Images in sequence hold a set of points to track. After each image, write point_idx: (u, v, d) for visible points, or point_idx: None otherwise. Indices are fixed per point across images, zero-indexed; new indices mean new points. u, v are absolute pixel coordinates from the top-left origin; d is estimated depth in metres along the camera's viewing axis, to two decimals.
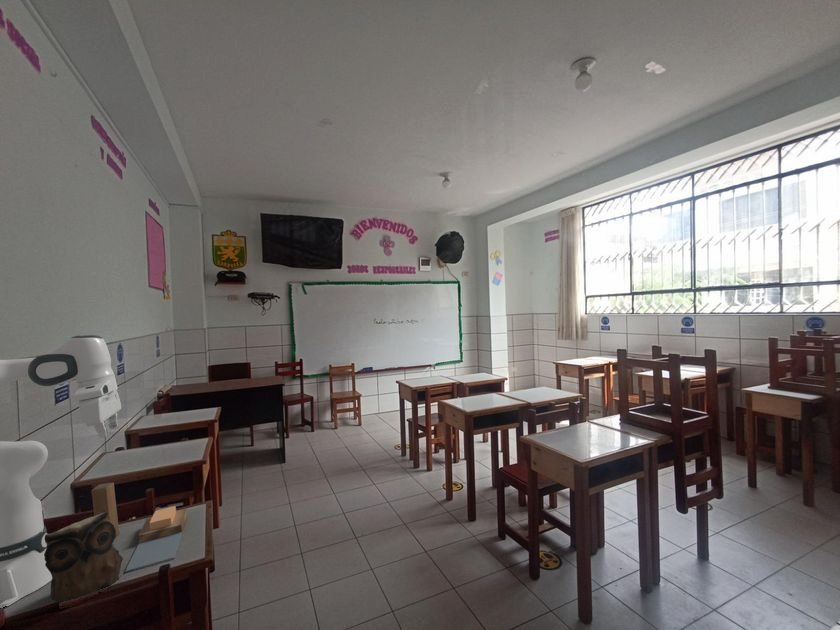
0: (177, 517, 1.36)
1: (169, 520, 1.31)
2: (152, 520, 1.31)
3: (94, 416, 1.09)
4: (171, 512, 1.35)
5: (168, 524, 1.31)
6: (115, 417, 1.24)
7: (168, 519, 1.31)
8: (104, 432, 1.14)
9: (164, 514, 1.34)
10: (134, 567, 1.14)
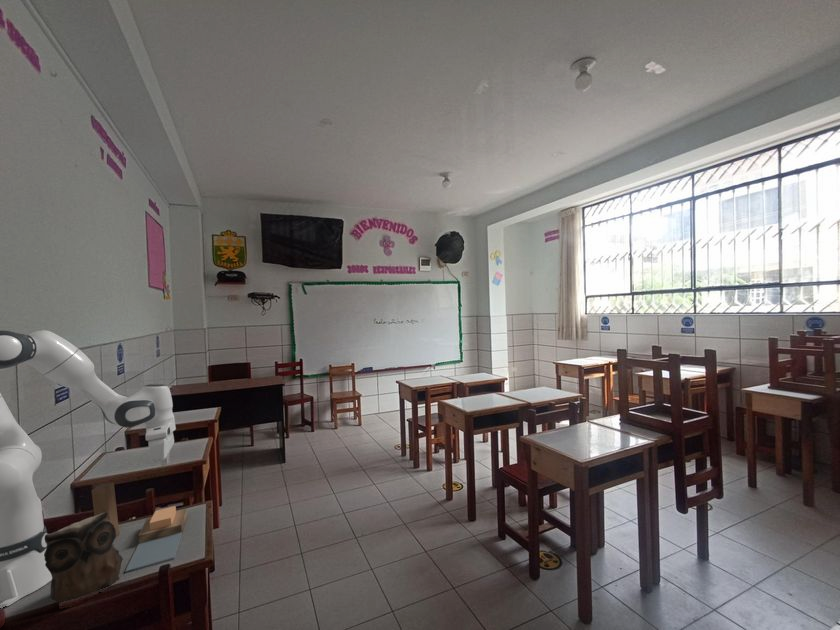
0: (177, 517, 1.36)
1: (169, 520, 1.31)
2: (152, 520, 1.31)
3: (159, 454, 1.34)
4: (171, 512, 1.35)
5: (168, 524, 1.31)
6: (167, 454, 1.45)
7: (168, 519, 1.31)
8: (166, 462, 1.43)
9: (164, 514, 1.34)
10: (134, 567, 1.14)
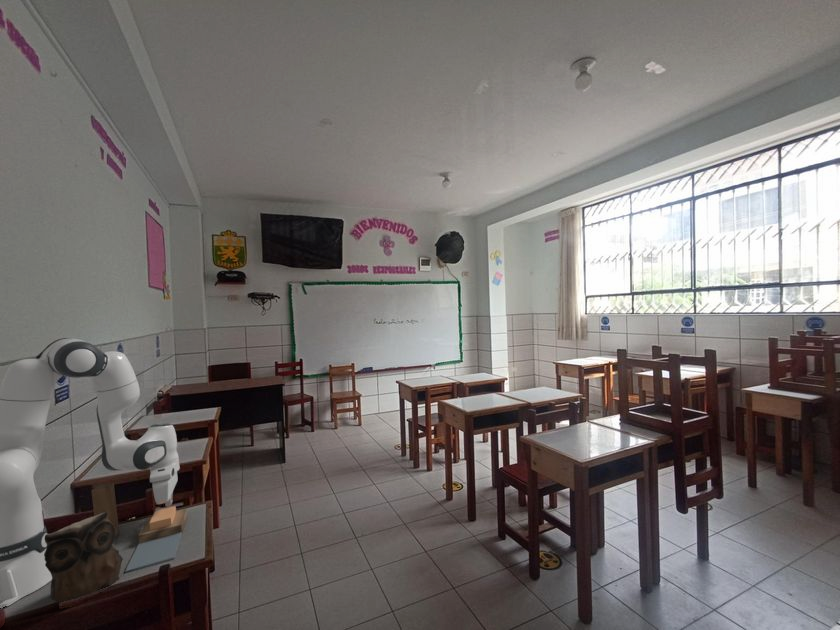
0: (177, 517, 1.36)
1: (169, 520, 1.31)
2: (152, 520, 1.31)
3: (163, 496, 1.35)
4: (171, 512, 1.35)
5: (168, 524, 1.31)
6: (171, 494, 1.45)
7: (168, 519, 1.31)
8: (170, 502, 1.43)
9: (164, 514, 1.34)
10: (134, 567, 1.14)
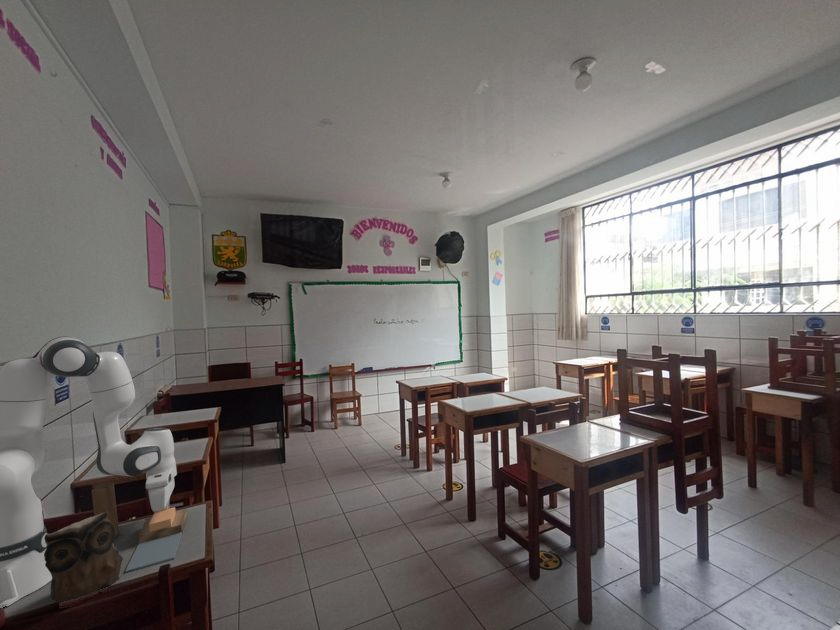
0: (177, 517, 1.36)
1: (169, 521, 1.30)
2: (152, 521, 1.30)
3: (160, 503, 1.30)
4: (171, 513, 1.34)
5: (168, 525, 1.30)
6: (168, 500, 1.40)
7: (168, 520, 1.30)
8: None
9: (163, 516, 1.33)
10: (134, 567, 1.14)
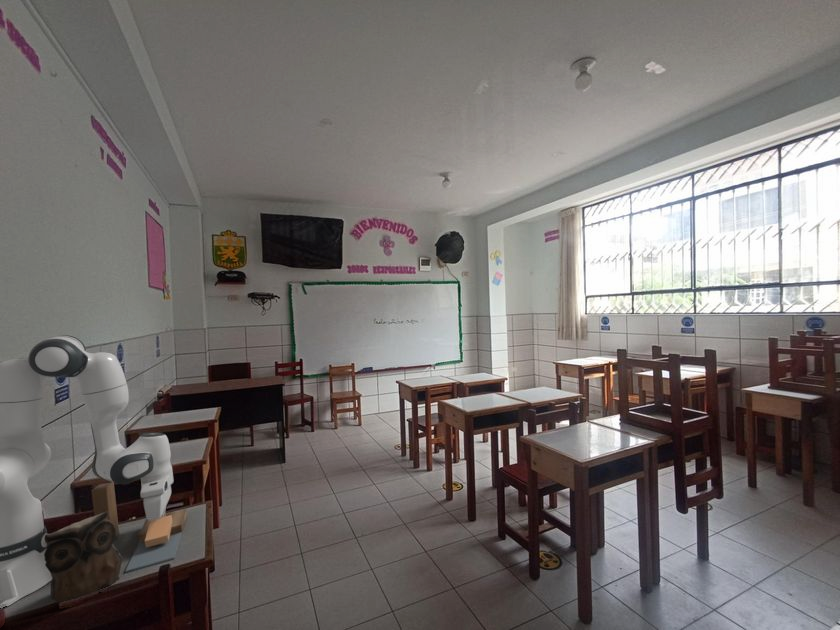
0: (177, 517, 1.36)
1: (166, 537, 1.24)
2: (148, 536, 1.23)
3: (155, 513, 1.23)
4: (167, 526, 1.27)
5: (165, 541, 1.24)
6: None
7: (165, 536, 1.24)
8: None
9: (160, 529, 1.26)
10: (134, 567, 1.14)
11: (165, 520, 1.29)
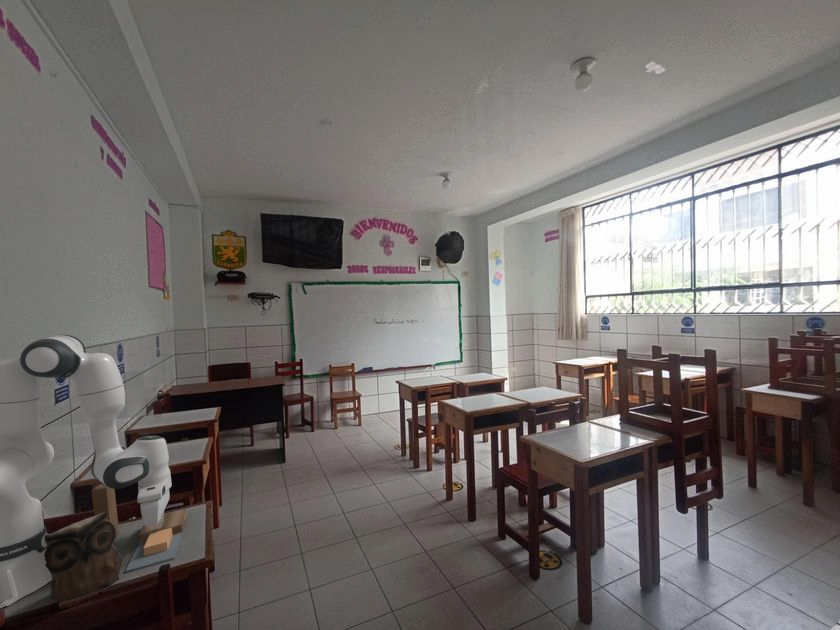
0: (177, 517, 1.36)
1: (165, 544, 1.21)
2: (147, 544, 1.21)
3: (153, 518, 1.20)
4: (167, 535, 1.25)
5: (164, 549, 1.21)
6: (162, 514, 1.31)
7: (164, 543, 1.21)
8: (160, 524, 1.28)
9: (159, 538, 1.24)
10: (134, 567, 1.14)
11: (165, 531, 1.27)
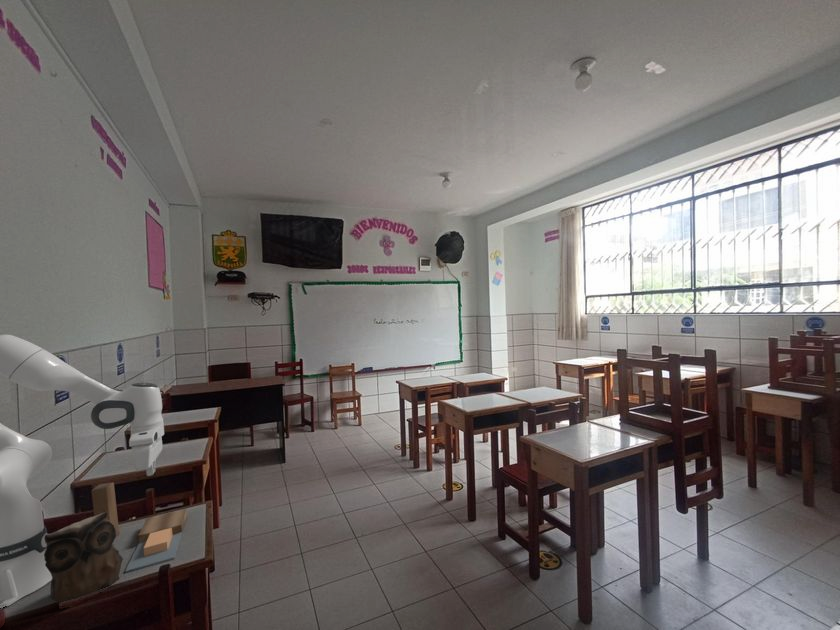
0: (177, 517, 1.36)
1: (165, 544, 1.21)
2: (147, 544, 1.21)
3: (144, 462, 1.20)
4: (167, 535, 1.25)
5: (164, 549, 1.21)
6: (154, 462, 1.31)
7: (164, 543, 1.21)
8: (152, 471, 1.28)
9: (159, 538, 1.24)
10: (134, 567, 1.14)
11: (165, 531, 1.27)
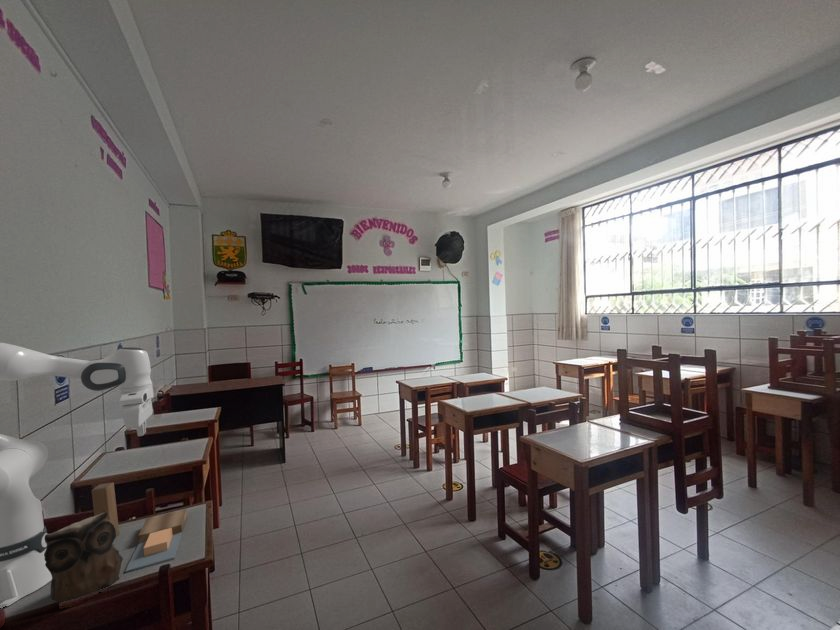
0: (177, 517, 1.36)
1: (165, 544, 1.21)
2: (147, 544, 1.21)
3: (134, 420, 1.24)
4: (167, 535, 1.25)
5: (164, 549, 1.21)
6: (144, 424, 1.35)
7: (164, 543, 1.21)
8: (142, 431, 1.32)
9: (159, 538, 1.24)
10: (134, 567, 1.14)
11: (165, 531, 1.27)
